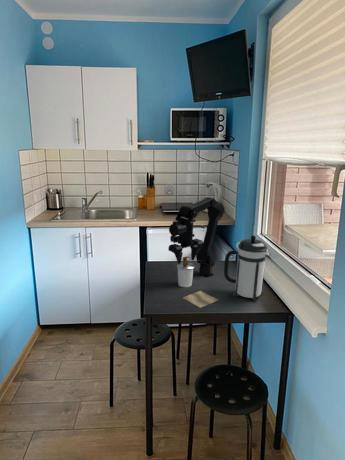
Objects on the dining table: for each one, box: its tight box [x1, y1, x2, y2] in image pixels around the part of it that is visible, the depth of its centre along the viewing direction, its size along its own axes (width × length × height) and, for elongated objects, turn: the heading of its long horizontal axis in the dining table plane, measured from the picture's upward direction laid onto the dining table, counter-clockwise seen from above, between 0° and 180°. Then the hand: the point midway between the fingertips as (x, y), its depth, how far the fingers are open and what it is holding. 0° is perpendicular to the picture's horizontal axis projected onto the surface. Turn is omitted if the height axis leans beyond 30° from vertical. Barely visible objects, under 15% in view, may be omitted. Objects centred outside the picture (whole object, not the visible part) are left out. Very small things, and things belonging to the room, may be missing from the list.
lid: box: [176, 256, 196, 270], centre depth 164 cm, size 9×9×5 cm
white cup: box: [177, 268, 194, 288], centre depth 166 cm, size 8×8×10 cm
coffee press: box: [223, 234, 270, 303], centre depth 154 cm, size 17×16×30 cm
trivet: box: [182, 290, 219, 309], centre depth 152 cm, size 12×12×1 cm
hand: (185, 262), depth 164 cm, fingers open, 9 cm apart
